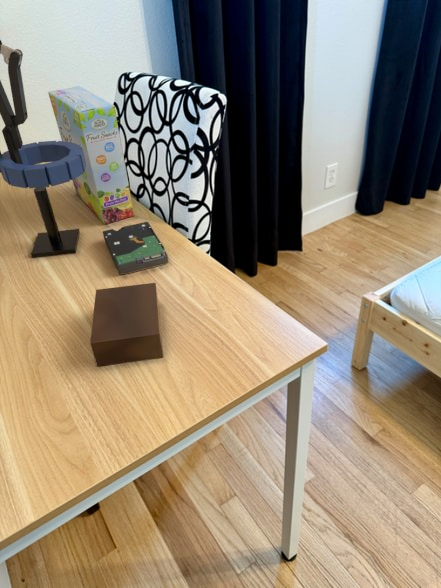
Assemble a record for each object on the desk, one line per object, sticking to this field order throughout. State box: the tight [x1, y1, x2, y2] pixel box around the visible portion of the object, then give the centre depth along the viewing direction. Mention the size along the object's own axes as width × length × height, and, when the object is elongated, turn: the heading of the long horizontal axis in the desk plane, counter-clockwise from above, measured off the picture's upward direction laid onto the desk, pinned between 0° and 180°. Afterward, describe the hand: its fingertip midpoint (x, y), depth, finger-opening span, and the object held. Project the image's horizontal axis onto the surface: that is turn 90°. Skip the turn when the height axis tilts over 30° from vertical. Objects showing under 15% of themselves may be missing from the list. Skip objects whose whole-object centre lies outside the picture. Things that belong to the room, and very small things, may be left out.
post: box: [30, 187, 81, 259], centre depth 90 cm, size 9×9×13 cm
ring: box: [0, 140, 86, 189], centre depth 71 cm, size 13×13×3 cm
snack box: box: [47, 85, 136, 225], centre depth 101 cm, size 22×9×26 cm, turn 33°
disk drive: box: [102, 221, 169, 276], centre depth 89 cm, size 10×3×15 cm
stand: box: [89, 282, 164, 367], centre depth 69 cm, size 10×13×5 cm
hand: (10, 168), depth 70 cm, fingers closed on ring, 2 cm apart
